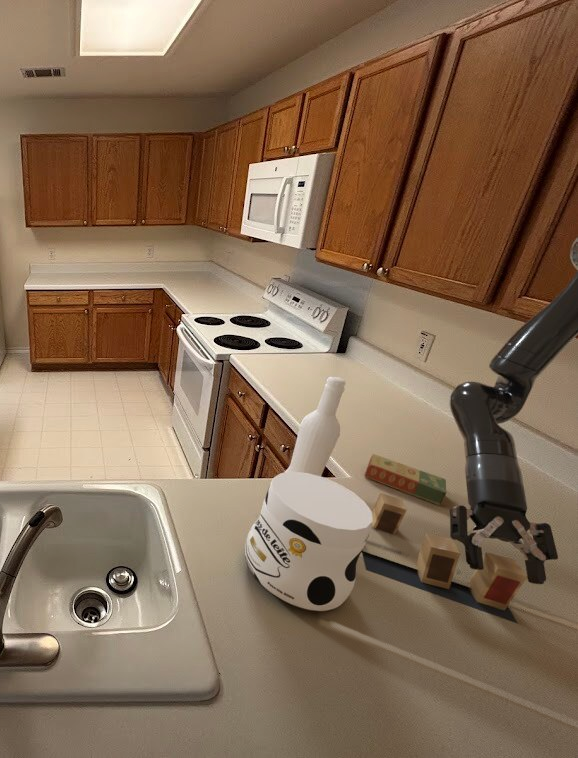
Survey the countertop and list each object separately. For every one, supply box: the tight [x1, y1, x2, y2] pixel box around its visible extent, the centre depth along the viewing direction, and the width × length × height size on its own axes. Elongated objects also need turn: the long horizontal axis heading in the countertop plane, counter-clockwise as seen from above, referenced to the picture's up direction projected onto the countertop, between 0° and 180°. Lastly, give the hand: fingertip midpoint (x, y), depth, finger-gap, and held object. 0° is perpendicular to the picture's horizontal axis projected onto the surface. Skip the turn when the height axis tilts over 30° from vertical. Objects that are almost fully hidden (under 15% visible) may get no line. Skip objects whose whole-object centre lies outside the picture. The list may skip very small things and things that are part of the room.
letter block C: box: [467, 552, 528, 610], centre depth 72 cm, size 4×4×8 cm
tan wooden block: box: [371, 492, 408, 535], centre depth 88 cm, size 4×4×8 cm
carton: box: [364, 453, 448, 507], centre depth 106 cm, size 8×16×4 cm, turn 50°
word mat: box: [361, 550, 519, 625], centre depth 77 cm, size 22×8×1 cm, turn 64°
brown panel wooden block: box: [415, 533, 461, 589], centre depth 75 cm, size 4×4×8 cm
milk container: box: [244, 471, 373, 612], centre depth 72 cm, size 17×17×18 cm
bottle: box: [283, 376, 346, 477], centre depth 95 cm, size 8×8×30 cm
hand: (506, 576), depth 70 cm, fingers open, 8 cm apart
